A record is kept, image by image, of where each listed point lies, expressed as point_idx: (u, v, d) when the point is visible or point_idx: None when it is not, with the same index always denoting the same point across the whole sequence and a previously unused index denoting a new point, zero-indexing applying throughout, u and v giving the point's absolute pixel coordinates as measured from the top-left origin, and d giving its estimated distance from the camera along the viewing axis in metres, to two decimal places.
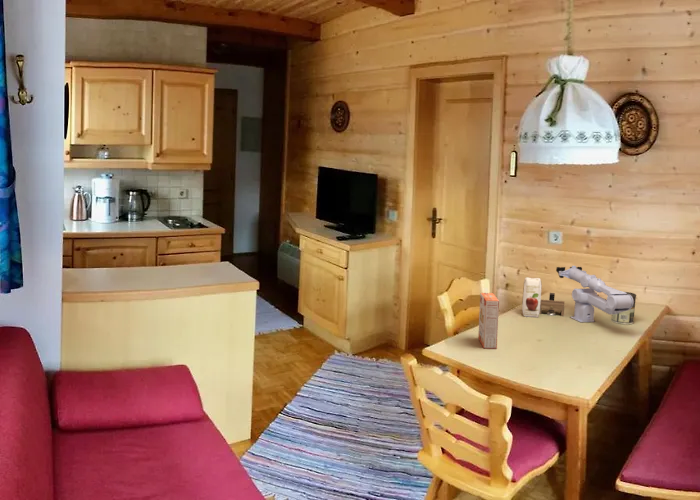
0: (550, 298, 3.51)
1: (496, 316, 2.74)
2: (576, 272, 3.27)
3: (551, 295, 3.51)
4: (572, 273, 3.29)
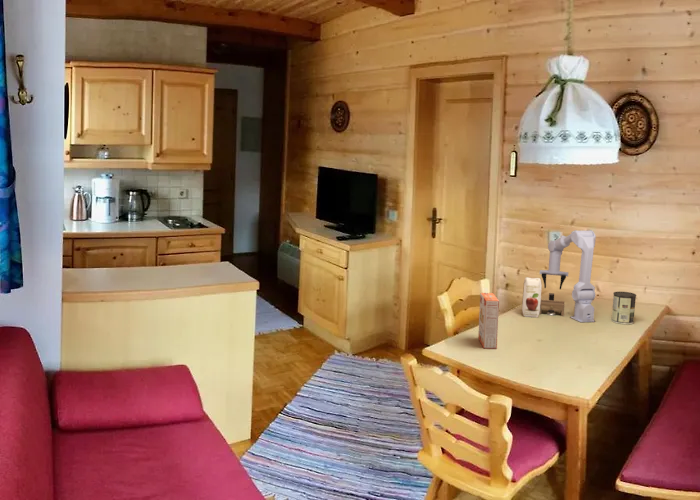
0: (550, 298, 3.50)
1: (496, 316, 2.74)
2: None
3: (551, 295, 3.50)
4: None
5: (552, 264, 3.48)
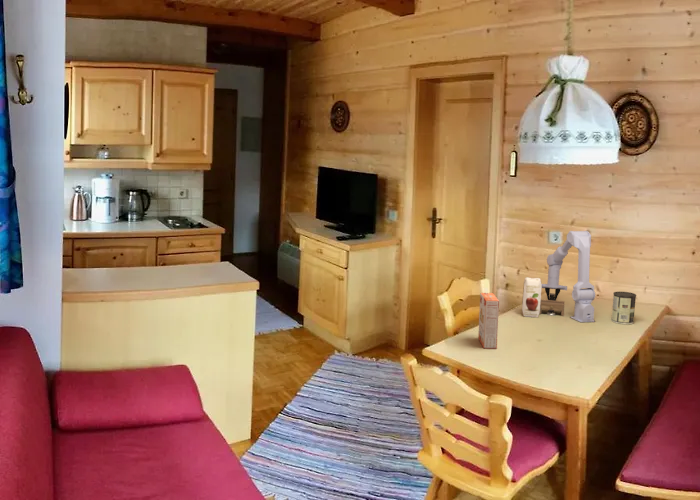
0: (550, 298, 3.49)
1: (496, 316, 2.74)
2: None
3: (551, 295, 3.49)
4: None
5: (551, 278, 3.49)
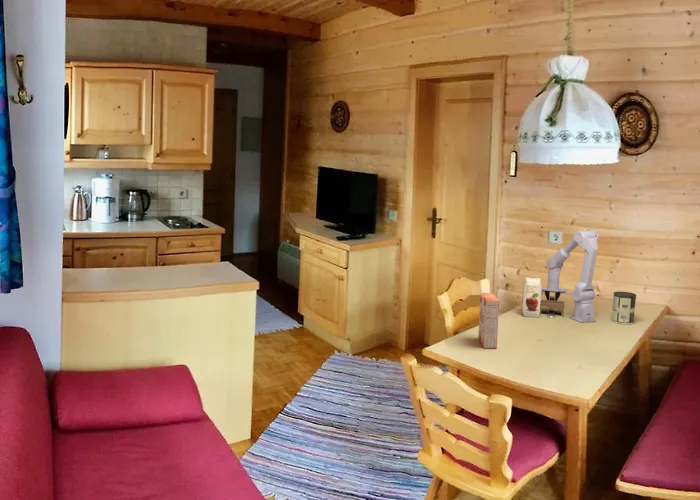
0: None
1: (496, 316, 2.74)
2: None
3: (551, 299, 3.42)
4: None
5: (551, 281, 3.41)
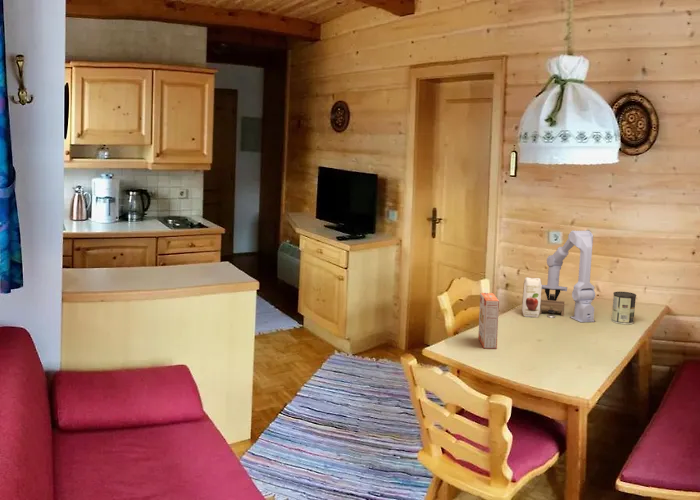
0: (550, 299, 3.48)
1: (496, 316, 2.74)
2: None
3: (551, 296, 3.47)
4: None
5: (551, 279, 3.47)
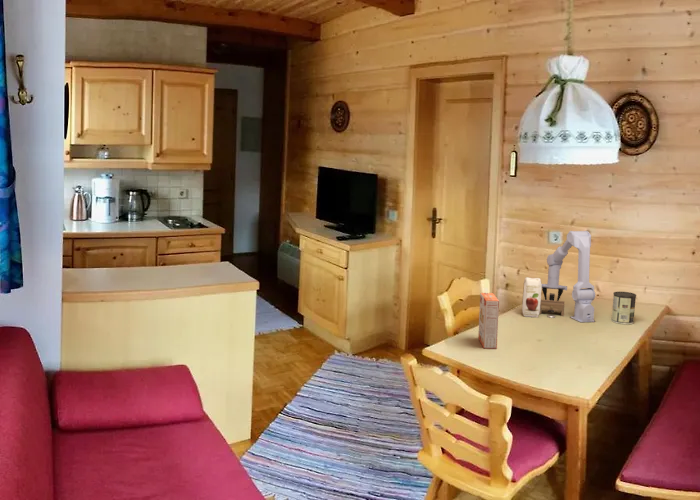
0: (550, 298, 3.50)
1: (496, 316, 2.74)
2: None
3: (551, 295, 3.50)
4: None
5: (551, 278, 3.49)
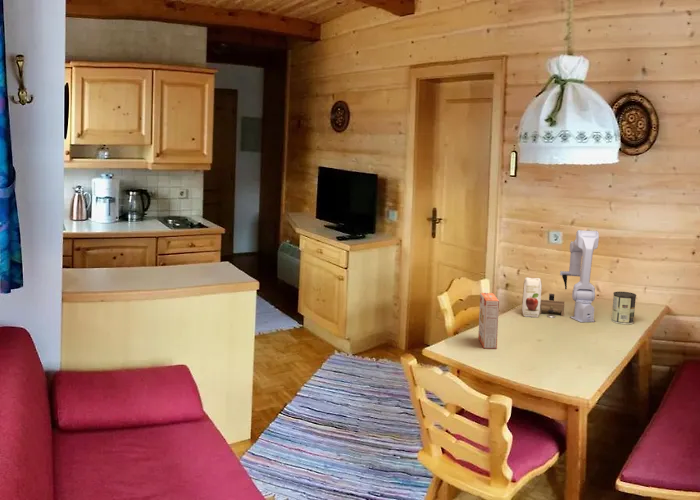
0: (550, 299, 3.49)
1: (496, 316, 2.74)
2: None
3: (551, 296, 3.49)
4: None
5: (573, 265, 3.47)
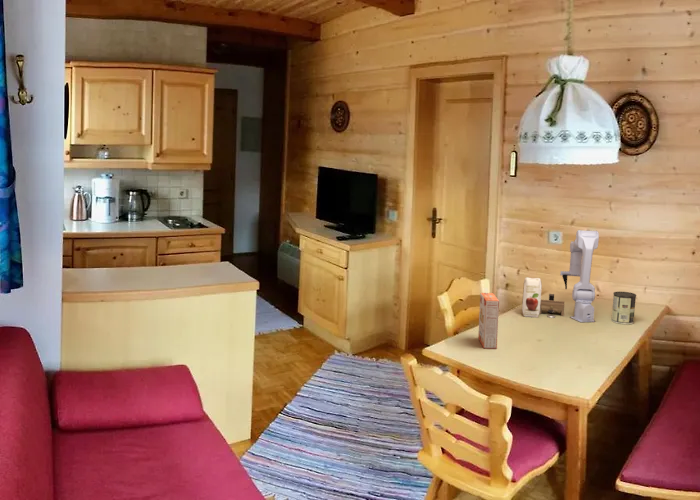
0: (550, 299, 3.49)
1: (496, 316, 2.74)
2: None
3: (551, 296, 3.48)
4: None
5: (573, 265, 3.47)
